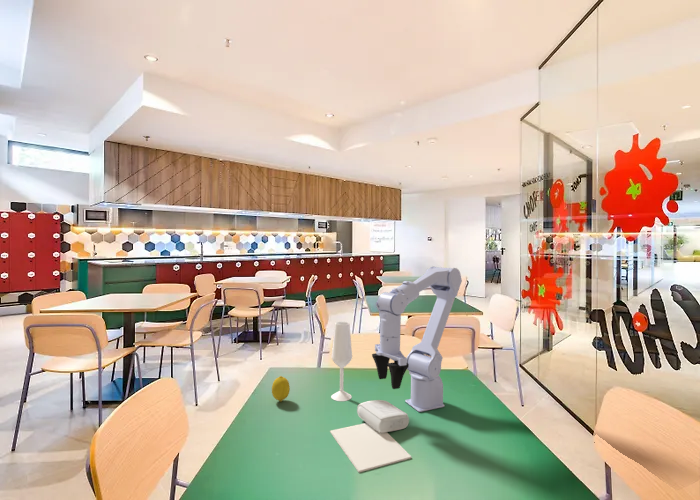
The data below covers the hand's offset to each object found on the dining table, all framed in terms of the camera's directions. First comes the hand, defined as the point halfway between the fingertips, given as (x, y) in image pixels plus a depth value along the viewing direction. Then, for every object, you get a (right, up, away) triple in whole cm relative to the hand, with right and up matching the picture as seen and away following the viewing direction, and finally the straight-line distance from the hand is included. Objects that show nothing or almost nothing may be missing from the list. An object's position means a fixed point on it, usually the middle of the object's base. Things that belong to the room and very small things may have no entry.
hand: (389, 383), depth 101 cm
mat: (-7, -11, -12) cm, 17 cm away
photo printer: (+1, -8, -7) cm, 11 cm away
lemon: (-33, -10, +11) cm, 36 cm away
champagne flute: (-14, -10, +15) cm, 23 cm away
